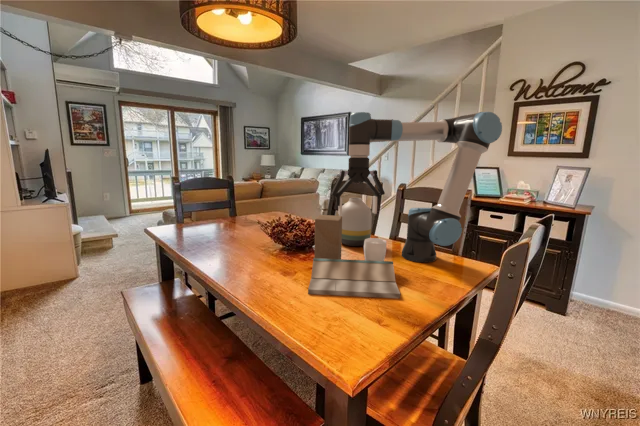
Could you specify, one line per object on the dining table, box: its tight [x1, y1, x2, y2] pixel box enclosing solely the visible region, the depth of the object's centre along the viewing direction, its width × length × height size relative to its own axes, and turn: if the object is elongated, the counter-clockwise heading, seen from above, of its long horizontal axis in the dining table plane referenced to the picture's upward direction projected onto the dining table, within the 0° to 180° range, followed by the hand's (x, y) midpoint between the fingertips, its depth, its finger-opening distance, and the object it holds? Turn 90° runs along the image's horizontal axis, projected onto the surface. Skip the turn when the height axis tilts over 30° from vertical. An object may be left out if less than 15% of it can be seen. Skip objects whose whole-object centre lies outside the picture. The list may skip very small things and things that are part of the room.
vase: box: [338, 197, 373, 247], centre depth 158 cm, size 17×17×24 cm
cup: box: [363, 237, 387, 261], centre depth 124 cm, size 9×9×12 cm
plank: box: [310, 257, 396, 283], centre depth 113 cm, size 30×9×2 cm
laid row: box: [307, 278, 401, 299], centre depth 105 cm, size 30×9×2 cm, turn 85°
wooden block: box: [313, 214, 343, 259], centre depth 129 cm, size 10×10×20 cm
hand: (357, 214), depth 116 cm, fingers open, 13 cm apart
